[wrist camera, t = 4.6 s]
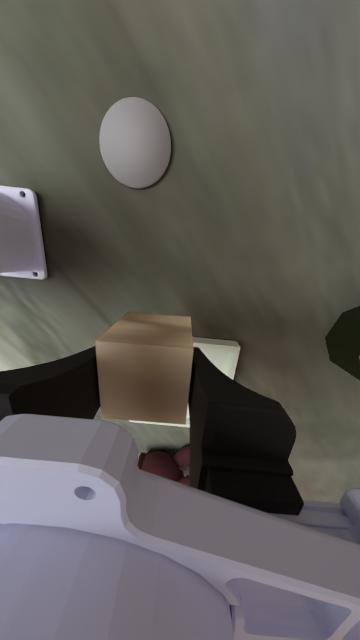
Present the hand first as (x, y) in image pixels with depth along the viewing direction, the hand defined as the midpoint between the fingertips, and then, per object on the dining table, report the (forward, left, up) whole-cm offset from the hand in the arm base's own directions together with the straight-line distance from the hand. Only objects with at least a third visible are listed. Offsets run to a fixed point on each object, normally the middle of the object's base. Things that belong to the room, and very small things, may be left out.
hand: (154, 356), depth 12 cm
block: (0, 0, -2) cm, 2 cm away
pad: (-4, +15, -9) cm, 18 cm away
